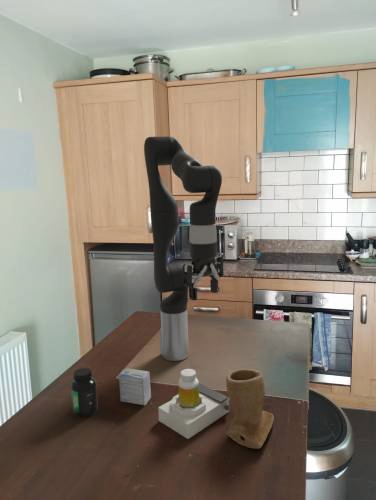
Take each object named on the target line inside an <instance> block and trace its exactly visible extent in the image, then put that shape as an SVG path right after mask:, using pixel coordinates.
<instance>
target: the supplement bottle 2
mask: <svg viewBox="0 0 376 500" xmlns="http://www.w3.org/2000/svg"><path fill="white" fill-rule="evenodd" d="M199 383H200V382H199V380H198V378H197V372H196V370H195V369H192V368H185V369H182V370H181V371H180V378H179V380H178V384H177V385H178V394H179V406H180V407H182V408H196V407H197V406H199Z"/></svg>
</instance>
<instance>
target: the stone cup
mask: <svg viewBox="0 0 376 500" xmlns="http://www.w3.org/2000/svg"><path fill="white" fill-rule="evenodd" d="M225 384H226V392H227V397H228V398H229V402H230V404H231V406H232V407H231V408H232V409H233V413H234V417H233V419H232V421H231V423H230V424H229V427H228V430H226V435H227V436H228V437H229V438H231V439H232V440H233V441H234V442H236V443H237V444H239V445H241V446H244V447H246V448H249V449H255V450H257V449H261V448H262V447H263V445H264V443H265V441H266V439H267V438H268V435H269V433H270V432H271V429H272V427H273V424H274V420H275V419H274V418H275V417H274V414H273V413H271V412H269V411H266V410H263V407H264V406H263V405H264V400H265V394H266V391H265V381H264V377H263V375H262V373H261V372H260V371H259V370H256V369H253V368H239V369H235V370H233V371H231V372H230V373H228V375H227V376H226V383H225Z"/></svg>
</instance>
